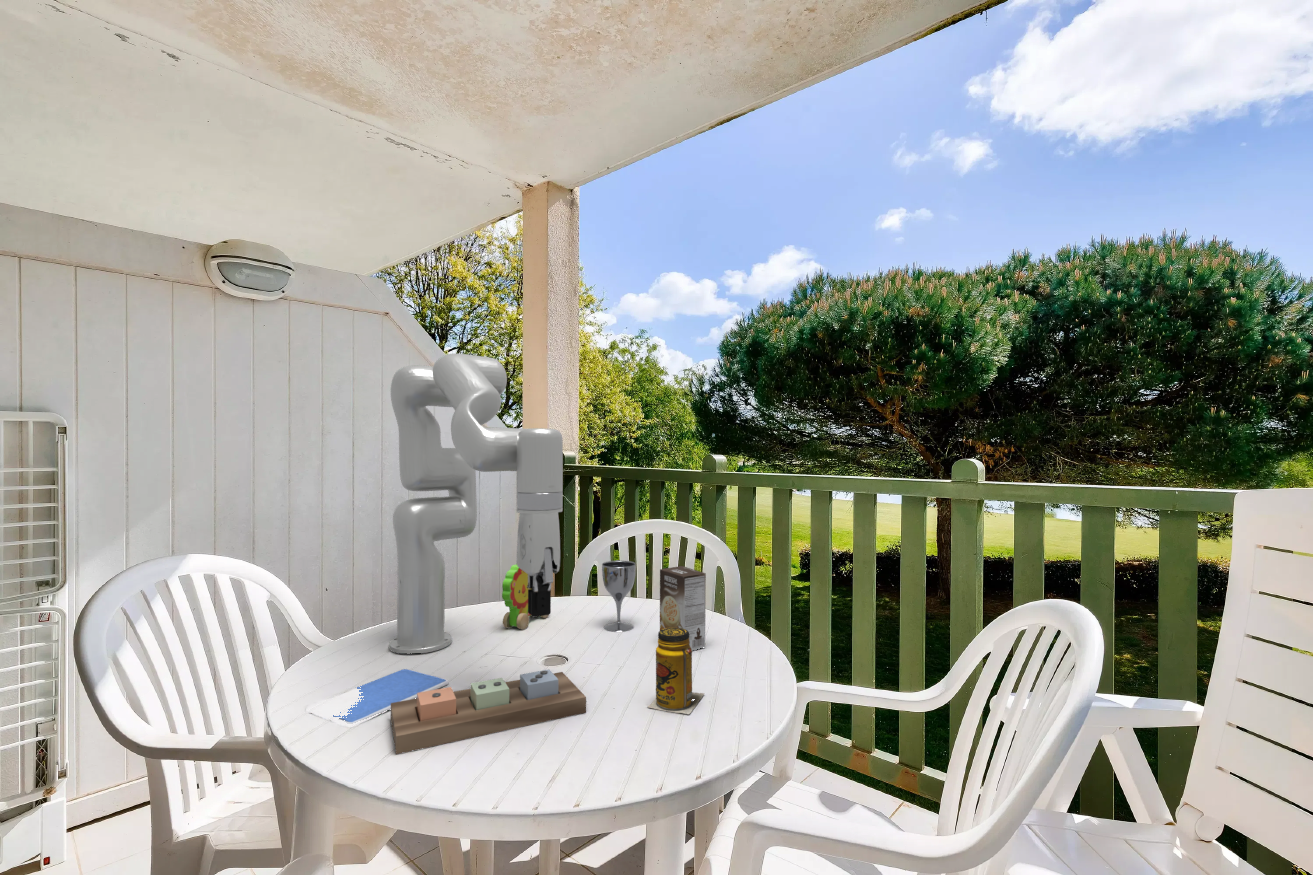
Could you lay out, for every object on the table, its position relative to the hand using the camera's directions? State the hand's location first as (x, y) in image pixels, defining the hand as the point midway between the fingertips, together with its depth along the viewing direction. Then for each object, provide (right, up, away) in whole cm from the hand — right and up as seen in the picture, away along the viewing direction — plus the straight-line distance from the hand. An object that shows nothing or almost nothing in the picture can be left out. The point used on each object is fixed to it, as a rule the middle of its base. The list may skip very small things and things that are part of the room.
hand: (539, 613), depth 98 cm
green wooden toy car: (-12, -16, +45) cm, 50 cm away
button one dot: (-14, -13, -8) cm, 21 cm away
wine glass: (+10, -16, +42) cm, 47 cm away
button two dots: (-7, -13, -4) cm, 16 cm away
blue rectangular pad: (-28, -16, +3) cm, 32 cm away
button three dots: (0, -13, 0) cm, 13 cm away
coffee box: (+25, -16, +30) cm, 42 cm away
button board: (-7, -15, -4) cm, 17 cm away
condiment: (+23, -15, +1) cm, 28 cm away
